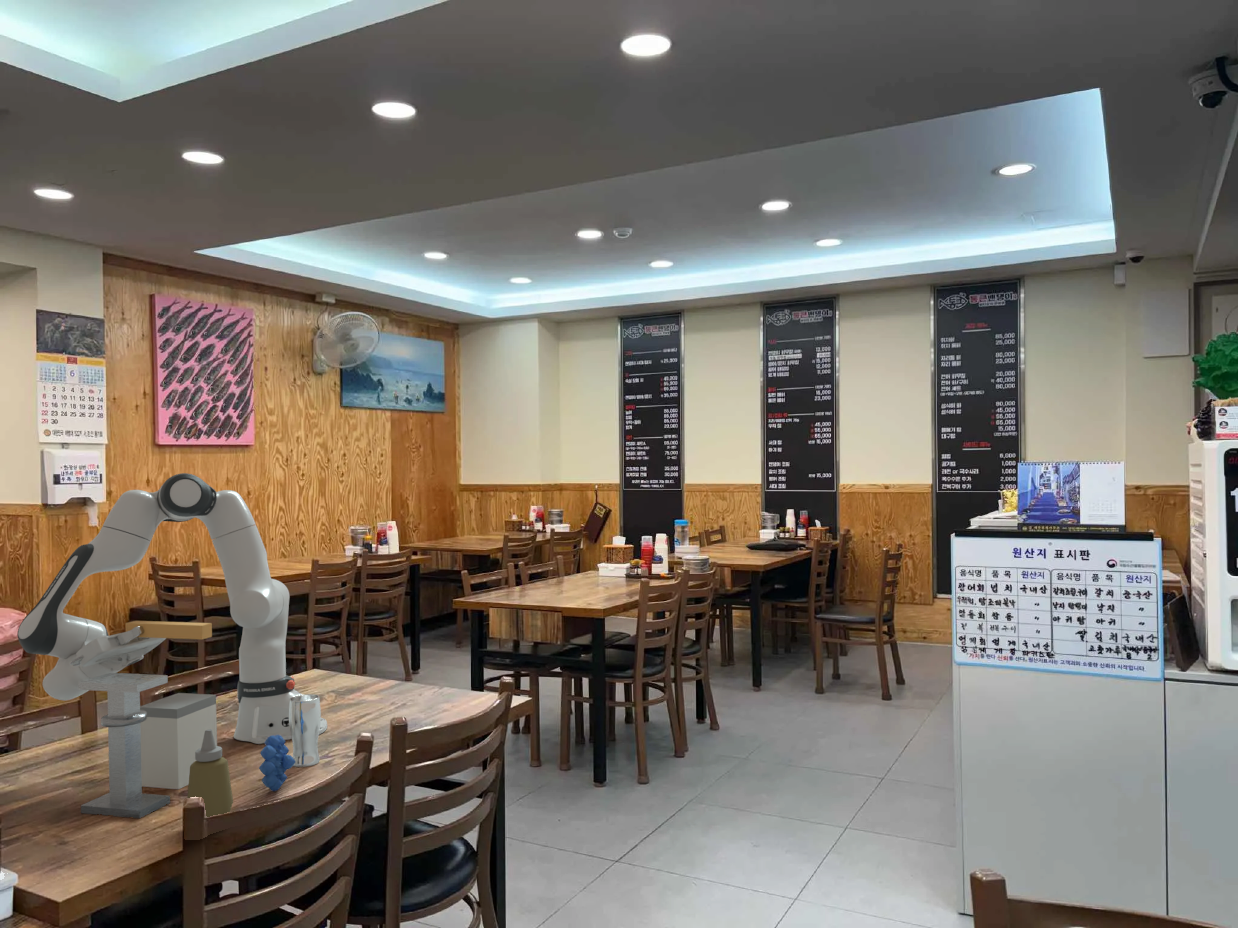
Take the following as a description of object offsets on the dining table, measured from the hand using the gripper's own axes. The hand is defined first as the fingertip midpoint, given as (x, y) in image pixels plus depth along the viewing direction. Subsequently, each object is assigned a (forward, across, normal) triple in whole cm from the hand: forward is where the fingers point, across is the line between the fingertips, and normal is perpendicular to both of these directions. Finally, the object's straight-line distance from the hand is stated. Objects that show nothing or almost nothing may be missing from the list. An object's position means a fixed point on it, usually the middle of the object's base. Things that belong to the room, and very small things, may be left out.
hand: (148, 627), depth 197 cm
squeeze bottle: (+12, -21, +45) cm, 51 cm away
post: (-8, -17, +33) cm, 38 cm away
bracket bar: (+4, 0, +4) cm, 6 cm away
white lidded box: (-10, 0, +32) cm, 34 cm away
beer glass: (+9, +14, +43) cm, 47 cm away
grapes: (+13, -2, +46) cm, 48 cm away
